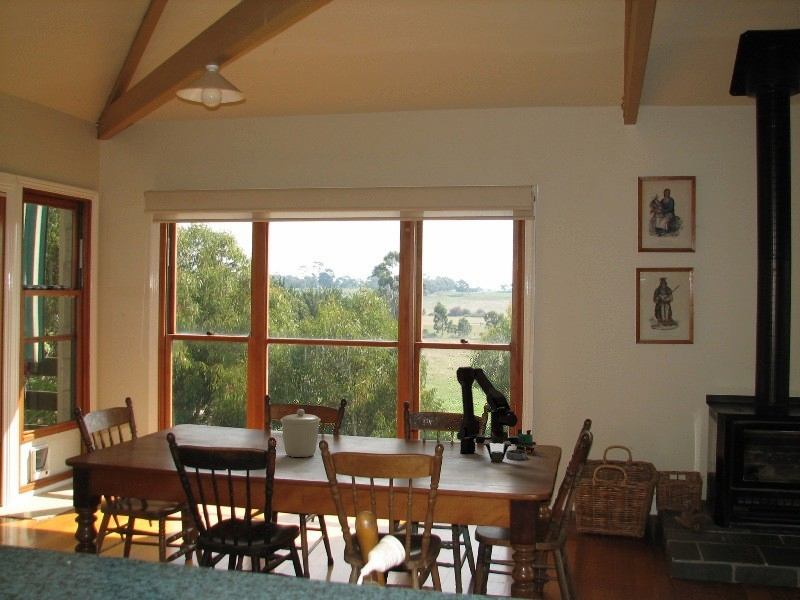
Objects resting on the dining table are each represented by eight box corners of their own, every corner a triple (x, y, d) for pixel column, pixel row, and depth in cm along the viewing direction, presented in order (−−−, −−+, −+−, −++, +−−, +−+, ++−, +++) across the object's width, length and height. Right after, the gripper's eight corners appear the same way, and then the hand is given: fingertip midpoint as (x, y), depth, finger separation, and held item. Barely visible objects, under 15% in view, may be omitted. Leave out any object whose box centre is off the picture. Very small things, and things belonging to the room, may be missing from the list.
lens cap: (491, 462, 327) (491, 453, 327) (491, 460, 332) (491, 450, 332) (503, 463, 326) (503, 453, 326) (502, 460, 331) (502, 450, 331)
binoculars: (538, 429, 354) (531, 430, 345) (537, 451, 353) (530, 453, 345) (520, 427, 358) (513, 428, 350) (519, 449, 358) (512, 451, 349)
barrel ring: (506, 459, 333) (506, 453, 333) (505, 455, 342) (505, 449, 342) (527, 459, 332) (527, 454, 332) (525, 455, 341) (525, 450, 341)
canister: (322, 451, 348) (322, 406, 348) (318, 460, 330) (318, 412, 329) (283, 451, 348) (283, 405, 348) (276, 460, 330) (277, 412, 330)
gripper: (476, 426, 322) (475, 462, 322) (520, 427, 320) (519, 463, 320) (475, 422, 333) (475, 457, 333) (518, 422, 331) (518, 458, 331)
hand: (496, 459), depth 329 cm, fingers closed on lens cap, 5 cm apart
